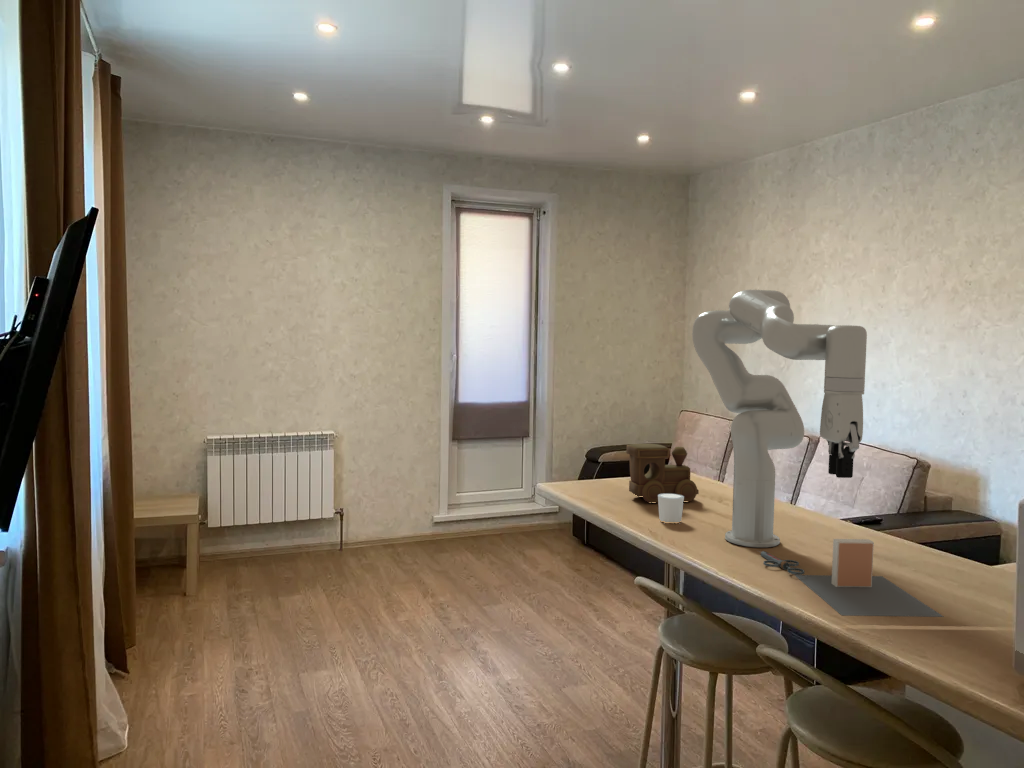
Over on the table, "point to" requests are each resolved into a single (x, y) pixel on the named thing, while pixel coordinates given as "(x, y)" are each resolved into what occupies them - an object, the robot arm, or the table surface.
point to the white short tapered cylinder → (670, 507)
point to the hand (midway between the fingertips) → (840, 474)
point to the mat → (868, 598)
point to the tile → (852, 562)
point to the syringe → (781, 563)
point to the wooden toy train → (659, 472)
